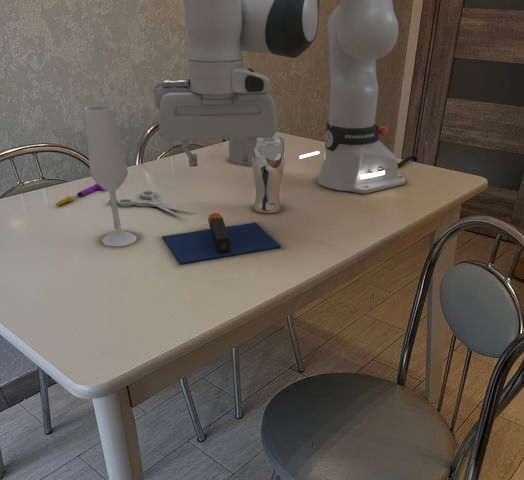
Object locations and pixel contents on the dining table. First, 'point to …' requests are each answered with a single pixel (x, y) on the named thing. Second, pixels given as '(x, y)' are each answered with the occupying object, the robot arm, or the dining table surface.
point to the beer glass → (268, 173)
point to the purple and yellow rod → (80, 194)
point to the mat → (203, 247)
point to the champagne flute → (107, 163)
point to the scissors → (153, 203)
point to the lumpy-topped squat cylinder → (238, 150)
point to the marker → (219, 233)
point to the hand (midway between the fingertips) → (219, 164)
